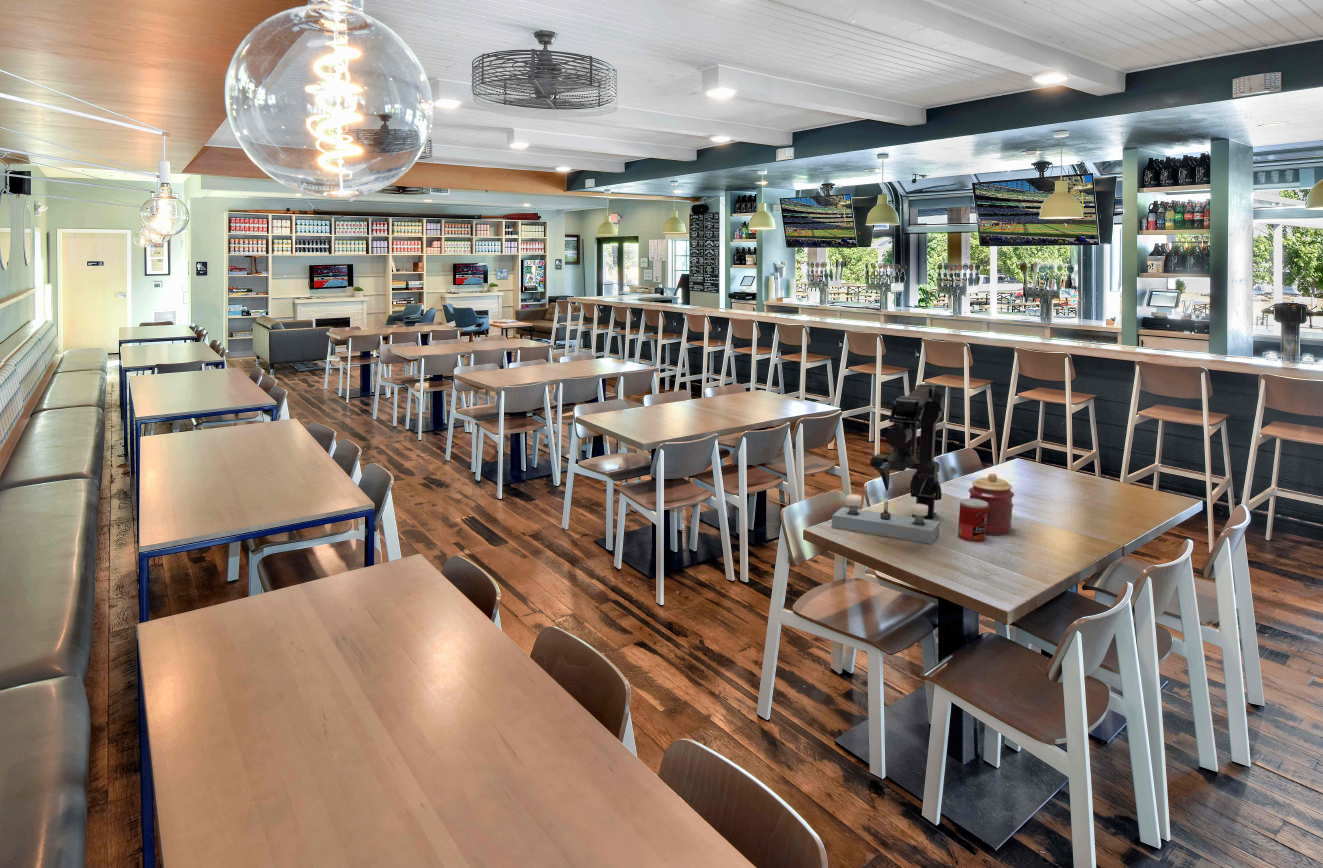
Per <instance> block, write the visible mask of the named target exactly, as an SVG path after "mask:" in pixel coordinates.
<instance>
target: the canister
mask: <svg viewBox="0 0 1323 868" xmlns="http://www.w3.org/2000/svg"><path fill="white" fill-rule="evenodd" d="M971 482H972V483H971V484H972V487H969V488H968V492H969V498H968V499H979V500H983V501H985V502H987V503H988V518H987V529H986V535H990V536H991V535H992V536H1002V535H1007V534H1009V533H1010V532H1011V529H1012V524H1013V523H1012V517H1013V507H1014V503H1013V498H1014V497H1015V493H1014V492H1013V491H1012V490H1011V489H1013V486H1012V485H1011V484H1010V483H1009V482H1008V481H1007V480H1005V479H1002V478H998V475H997V474H995V473H993V472H992V473H989V474H988V476H987V477H979V478H977V479H975V480H973V481H971Z"/></svg>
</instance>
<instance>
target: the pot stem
mask: <svg viewBox="0 0 1323 868" xmlns="http://www.w3.org/2000/svg"><path fill="white" fill-rule="evenodd" d="M883 502H884V503H883V511H882V512H880V513H881V514H880V518H881V519H883V520H890V518H891V513H890V512H889V500H884V501H883Z"/></svg>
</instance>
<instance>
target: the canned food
mask: <svg viewBox="0 0 1323 868" xmlns="http://www.w3.org/2000/svg"><path fill="white" fill-rule="evenodd" d="M958 514H959V515H958V527H957V528H958V529H957V535H958V537H959V539H962V540H964V541H968V542H974V543H975V542H984V541H985V539H986V538H987V534H986V529H987V518H988V503H987V502H985V501H983V500H979V499H969V498H962V499H961V500H960V504H959V513H958Z"/></svg>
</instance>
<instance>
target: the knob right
mask: <svg viewBox="0 0 1323 868" xmlns="http://www.w3.org/2000/svg"><path fill="white" fill-rule="evenodd" d="M911 514H913V515H915V516H914V518H915V521H914V522H915V523H917V524H923V523H924V519H925V518H924V516H926V515H928V506H927V505H925V504H916V503H912V504H911Z"/></svg>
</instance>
